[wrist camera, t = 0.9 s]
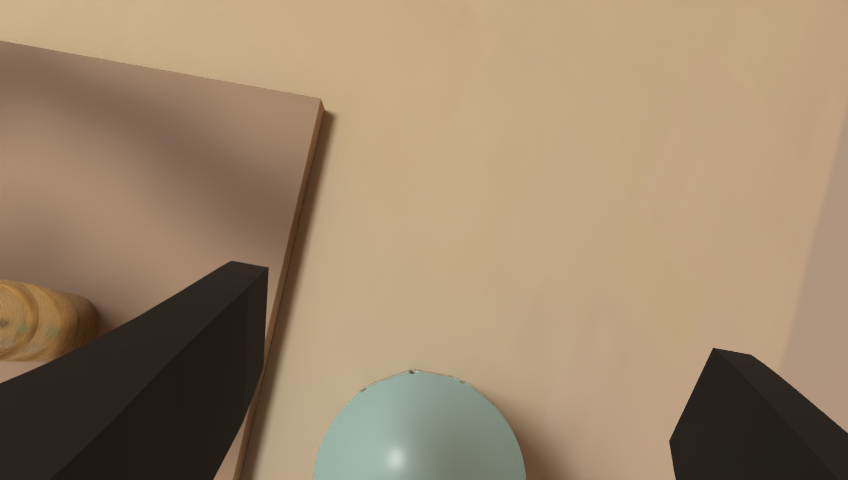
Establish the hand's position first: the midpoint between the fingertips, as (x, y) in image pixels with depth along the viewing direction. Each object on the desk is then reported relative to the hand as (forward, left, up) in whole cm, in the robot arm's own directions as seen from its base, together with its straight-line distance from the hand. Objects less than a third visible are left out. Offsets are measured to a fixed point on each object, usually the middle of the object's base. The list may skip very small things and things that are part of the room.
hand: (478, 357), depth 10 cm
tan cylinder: (-1, +13, -12) cm, 18 cm away
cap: (-3, 0, -13) cm, 14 cm away
